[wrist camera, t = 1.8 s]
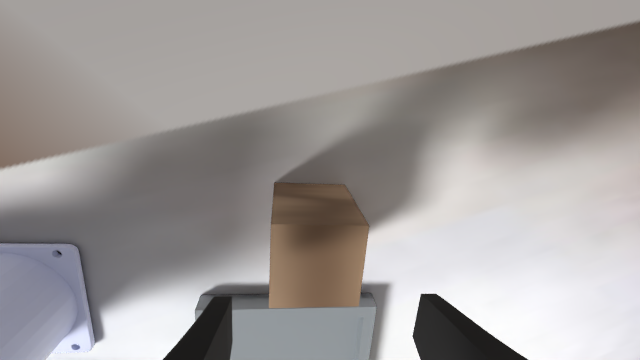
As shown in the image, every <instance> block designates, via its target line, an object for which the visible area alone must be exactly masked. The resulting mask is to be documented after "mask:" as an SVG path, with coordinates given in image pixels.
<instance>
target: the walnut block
mask: <svg viewBox="0 0 640 360" xmlns="http://www.w3.org/2000/svg"><path fill="white" fill-rule="evenodd" d="M368 231H369V224H368V223H367V221H366V219H365V218H364V216H363V214H362V213H361V211H360V209H359V208H358V206H357V204H356V203H355V201H354V199H353V198H352V196H351V194H350V193H349V191H348V189H347V188H346V186H345V185H334V184H303V183H274V194H273V206H272V219H271V245H270V281H269V308H304V307H355V306H359V300H360V293H361V285H362V277H363V269H364V262H365V254H366V246H367V239H368Z"/></svg>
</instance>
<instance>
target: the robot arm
mask: <svg viewBox="0 0 640 360" xmlns="http://www.w3.org/2000/svg"><path fill="white" fill-rule="evenodd" d="M57 251H60V252H61V254H62V255H61V254H59V253H57ZM413 339H414V342H415V345H416V348H417V351H418V353H419V356H420V359H421V360H528V359H526V358H525V357H523V356H521V355H520V354H518V353H517V352H515V351H514V350H512V349H511V348H509V347H508V346H506V345H505V344H504V343H502V342H501V341H499V340H498V339H496V338H495V337H494V336H492V335H491V334H489V333H488V332H487V331H485V330H484V329H482V328H481V327H480V326H478V325H477V324H476V323H474V322H473V321H472V320H470V319H469V318H468V317H466V316H465V315H464V314H463V313H461V312H460V311H459V310H457V309H456V308H455V307H453V306H452V305H451V304H449V303H448V302H447V301H445V300H444V299H443V298H441V297H440V296H438V295H437V294H421V297H420V302H419V307H418V312H417V317H416V322H415V327H414V332H413ZM232 342H233V336H232V296H215V297H213V298H212V299H211V301H210V302H209V304H208V305H207V306H206V308H205V309H204V311H203V312H202V313H201V315H200V316H199V317H198V319H197V320H196V321H195V322H194V324H193V325H192V326H191V328H190V329H189V330H188V331H187V332H186V334H185V335H184V336H183V337H182V339H181V340H180V341H179V342H178V343H177V344H176V346H175V347H174V348H173V349H172V350H171V351H170V352H169V353H168V354H167V356H166V357H165V358H164V359H163V360H230V356H231V349H232ZM77 344H78V345H77ZM94 345H95V340H94V334H93V328H92V323H91V317H90V312H89V306H88V300H87V295H86V289H85V283H84V278H83V272H82V267H81V261H80V255H79V251H78V248H77V247H76V246H74V245H72V244H8V243H0V360H46V358H47V357H48V356H49V355H50V354H51V353H72V352H88V351H90V350H91V349H92V348H93V346H94Z"/></svg>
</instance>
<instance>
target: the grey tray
mask: <svg viewBox="0 0 640 360" xmlns="http://www.w3.org/2000/svg"><path fill="white" fill-rule="evenodd" d="M215 296H232V336H233V342H232V349H231V356H230V360H369V356H370V349H371V342H372V336H373V329H374V323H375V316H376V309H377V306H376V304H375V301H374V299H373V297H372V294H371V293H360V300H359V306H355V307H304V308H269V294H248V295H201V296H200V299H199V301H198V304H197V306H196V309H195V320H197V319H198V317H199V316H200V315H201V313H202V312H203V311H204V309H205V308H206V306H207V305H208V304H209V302H210V301H211V299H212V298H213V297H215Z"/></svg>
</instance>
